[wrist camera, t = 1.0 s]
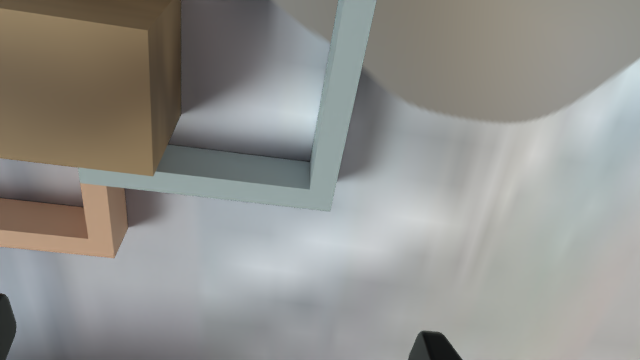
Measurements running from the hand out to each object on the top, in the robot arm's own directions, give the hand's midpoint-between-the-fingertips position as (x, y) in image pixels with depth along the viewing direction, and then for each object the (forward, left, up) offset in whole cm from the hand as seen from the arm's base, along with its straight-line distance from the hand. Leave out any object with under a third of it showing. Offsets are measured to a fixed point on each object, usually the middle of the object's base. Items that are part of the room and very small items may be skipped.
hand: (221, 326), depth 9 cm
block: (0, +6, -12) cm, 14 cm away
